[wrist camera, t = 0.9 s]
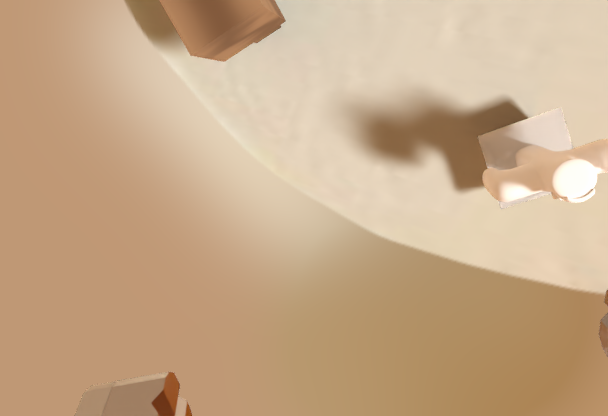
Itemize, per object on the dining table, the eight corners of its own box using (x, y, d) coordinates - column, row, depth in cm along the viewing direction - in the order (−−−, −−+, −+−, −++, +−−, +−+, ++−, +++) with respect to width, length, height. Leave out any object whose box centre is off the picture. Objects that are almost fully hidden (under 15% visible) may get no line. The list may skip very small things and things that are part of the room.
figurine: (459, 137, 46) (488, 156, 32) (560, 101, 44) (639, 104, 29) (482, 204, 47) (519, 252, 33) (581, 172, 45) (667, 209, 31)
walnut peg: (272, -27, 46) (216, -81, 32) (303, 32, 47) (263, 5, 32) (219, 10, 48) (144, -26, 33) (251, 66, 48) (190, 55, 34)
